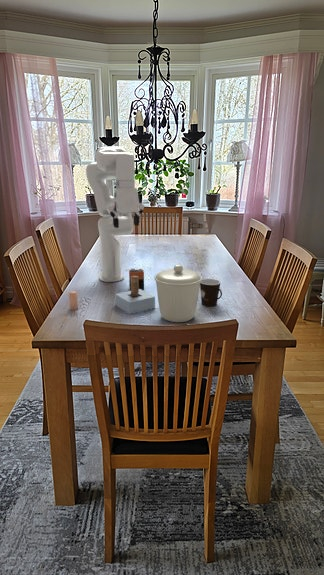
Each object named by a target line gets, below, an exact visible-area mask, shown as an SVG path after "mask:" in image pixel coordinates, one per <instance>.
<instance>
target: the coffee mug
mask: <svg viewBox="0 0 324 575" xmlns="http://www.w3.org/2000/svg"><path fill="white" fill-rule="evenodd" d="M199 291H200V302H201V305H202V306H203V307H206V308H214V307H216V306H217V305H218V300H220V299H221V298H222V295H223V292H222V289H221V280H219V279H215V278H204V279H203V278H202V280H201V281H200V288H199ZM219 294H220V295H219Z"/></svg>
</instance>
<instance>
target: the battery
mask: <svg viewBox="0 0 324 575" xmlns="http://www.w3.org/2000/svg"><path fill="white" fill-rule="evenodd" d="M128 273H129V275H128V276H129V277H128V280H129V281H128V283H129V286H128V287H129V289H128V290H129V291H131V276H138V281H139V289H141V290H143V291H145V270H144V269H142V268H139V269H135V268H130V269H129V270H128Z"/></svg>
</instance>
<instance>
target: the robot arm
mask: <svg viewBox="0 0 324 575" xmlns="http://www.w3.org/2000/svg"><path fill="white" fill-rule="evenodd" d="M94 157H95V162H94V161H93V162H90V163H88V164H87V166H86V169H85V175H86V180H87V183H88V184H89V187H90V189H91V190H92V192H93V197H94V201H95V205H96V211H97V213H98V215H99V216H101V218H99V219H98V221H97V228H98V234H99V240H100V241H99V242H100V258H101V259H100V260H101V261H100V262H101V269H100V271H101V274H100V275H99V276H98V280H99V281H101V282H105V283H114V282H120V281H122V280H124V278H125V276H124V274H122V273H121V245H120V242H119V241H118V239H116V237H115V236H126V235H132V233H133V232H134V229H135V228H134V226H136V227H139V225H140V217H141V214H143V211H144V210H145V209H144V208H145V205H144V204H143V203H141V202H140V199H139V193H138V188H137V187H135V186H136V185H135V182H136V178H135V155H134V153H132V152H126V150H125V149H124V148H123V147H121V146H102V147H99V148H98V149H96V150H95V154H94ZM102 180H104V181H105V180H109V181H110V180H115V181H113V183H112V184H113V186H115V187H116V188H114V193H113V195H112V191H111V188H110V187H109V186H108V185H107V184H106V182H104V181H102ZM133 214H134V215H133ZM132 215H133V216H132Z"/></svg>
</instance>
